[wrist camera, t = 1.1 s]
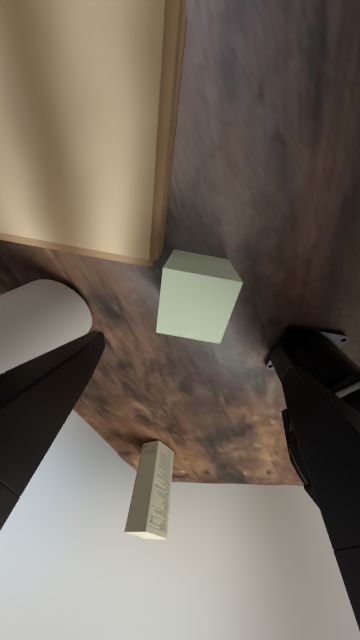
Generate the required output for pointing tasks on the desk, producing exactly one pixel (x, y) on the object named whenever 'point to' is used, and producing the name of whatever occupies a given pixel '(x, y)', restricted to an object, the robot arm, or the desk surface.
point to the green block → (197, 296)
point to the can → (39, 321)
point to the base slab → (89, 124)
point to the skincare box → (151, 493)
